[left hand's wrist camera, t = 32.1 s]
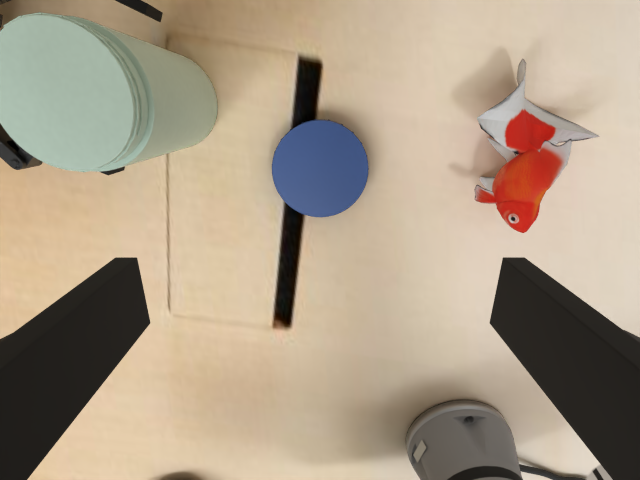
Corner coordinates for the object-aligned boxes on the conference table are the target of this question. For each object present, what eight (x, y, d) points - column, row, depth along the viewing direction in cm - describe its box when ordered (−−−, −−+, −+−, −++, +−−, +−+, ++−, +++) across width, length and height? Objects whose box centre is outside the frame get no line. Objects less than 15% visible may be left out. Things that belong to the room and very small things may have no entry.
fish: (425, 216, 35) (518, 208, 26) (449, 71, 37) (545, 17, 28) (497, 238, 40) (597, 238, 31) (515, 108, 41) (617, 71, 32)
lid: (335, 98, 36) (336, 98, 34) (383, 181, 39) (386, 185, 37) (255, 153, 38) (251, 155, 36) (307, 228, 41) (306, 234, 39)
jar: (233, 126, 37) (169, 141, 21) (159, 161, 38) (47, 199, 22) (188, 35, 34) (75, -26, 18) (109, 76, 35) (-59, 52, 19)
